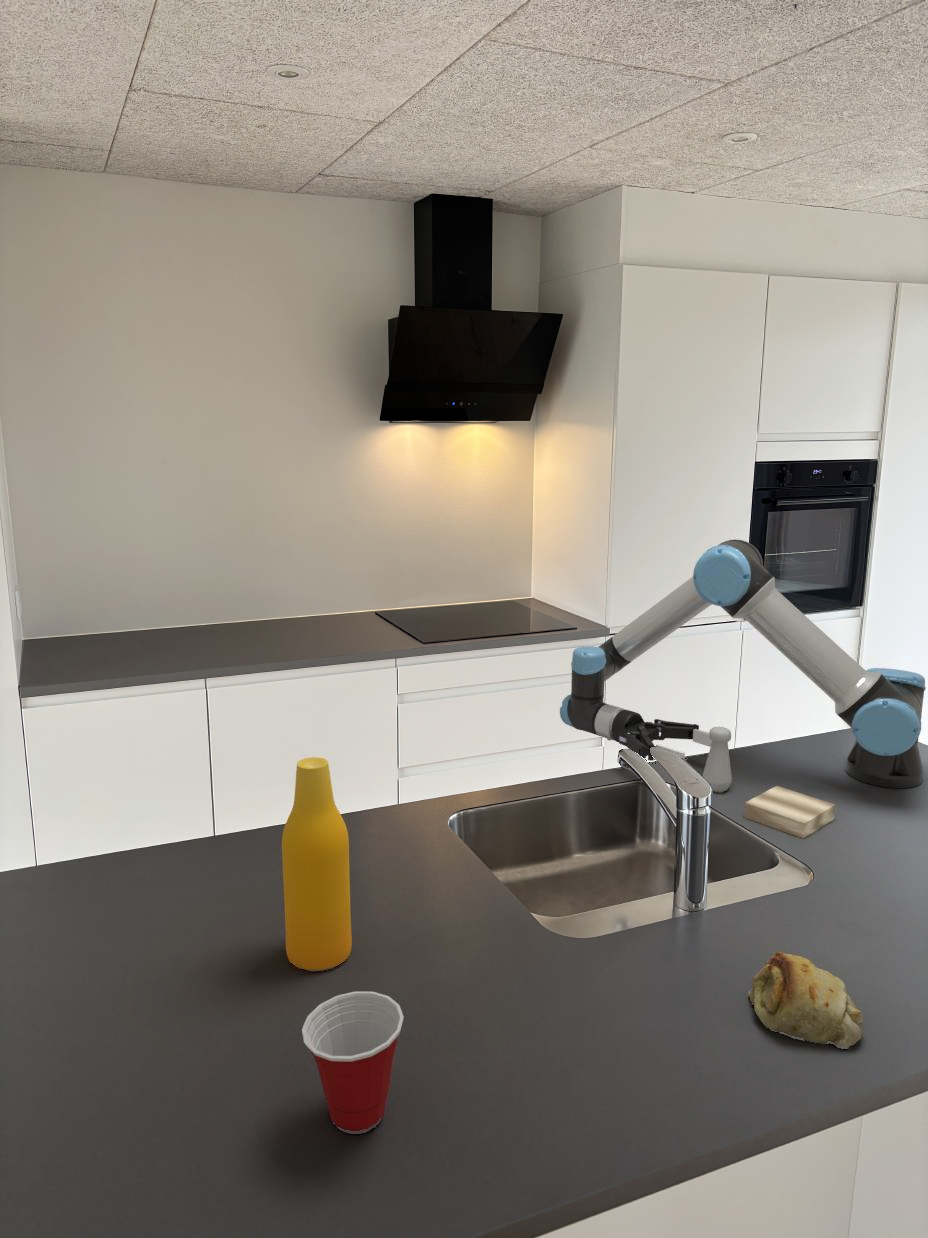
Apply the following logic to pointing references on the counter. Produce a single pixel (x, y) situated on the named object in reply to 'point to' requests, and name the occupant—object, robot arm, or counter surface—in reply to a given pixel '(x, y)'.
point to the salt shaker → (718, 760)
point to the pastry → (805, 1001)
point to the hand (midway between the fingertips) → (702, 751)
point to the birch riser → (789, 811)
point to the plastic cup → (354, 1054)
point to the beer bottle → (316, 873)
